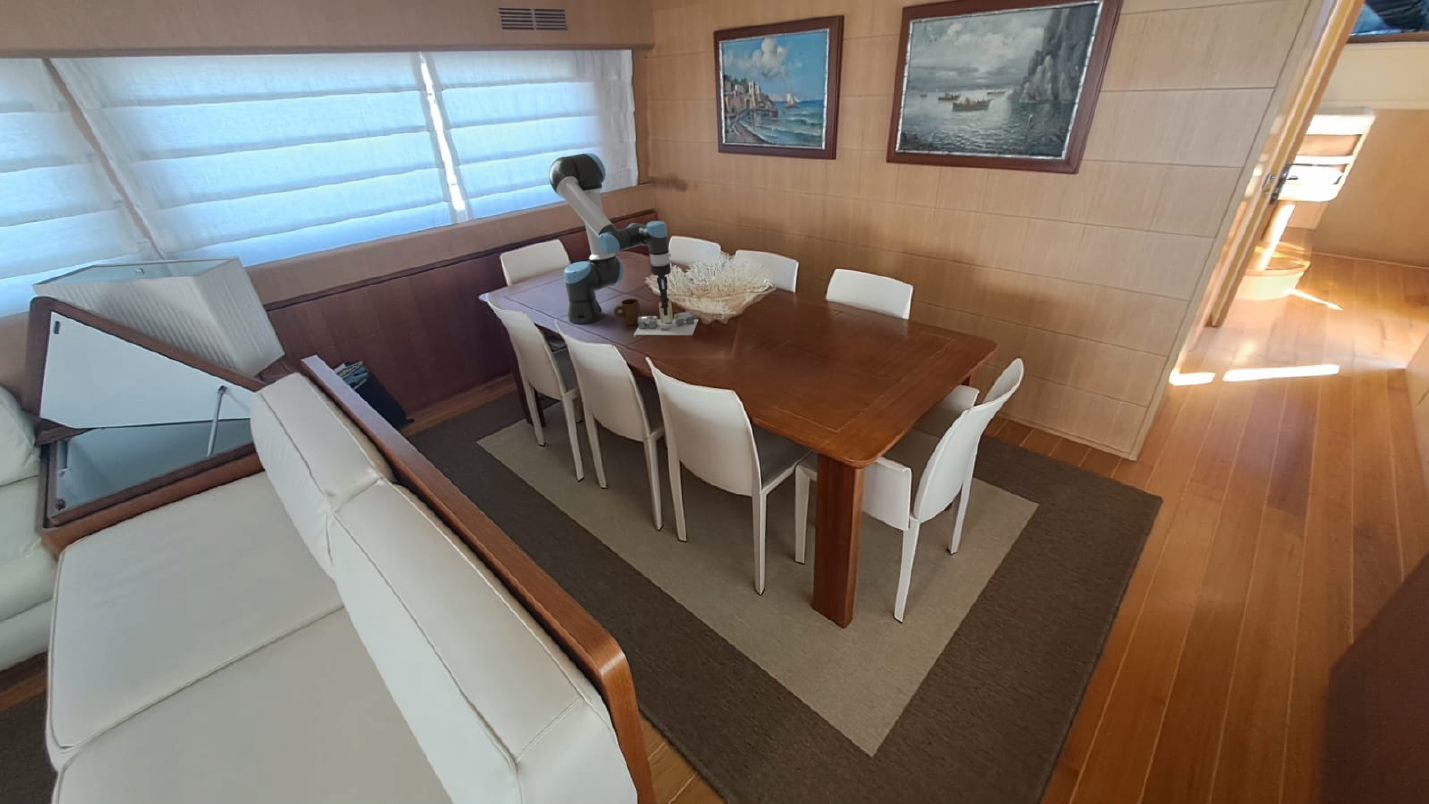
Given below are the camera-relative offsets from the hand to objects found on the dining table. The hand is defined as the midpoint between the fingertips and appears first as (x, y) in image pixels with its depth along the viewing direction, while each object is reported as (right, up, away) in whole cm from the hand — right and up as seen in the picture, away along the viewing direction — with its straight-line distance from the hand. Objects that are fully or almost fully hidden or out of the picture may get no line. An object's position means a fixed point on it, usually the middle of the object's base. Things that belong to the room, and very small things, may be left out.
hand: (666, 319), depth 222 cm
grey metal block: (+7, -1, +4) cm, 8 cm away
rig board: (0, -4, +2) cm, 4 cm away
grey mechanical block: (-8, -3, +3) cm, 8 cm away
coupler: (0, 0, 0) cm, 0 cm away
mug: (-17, -1, +10) cm, 19 cm away
